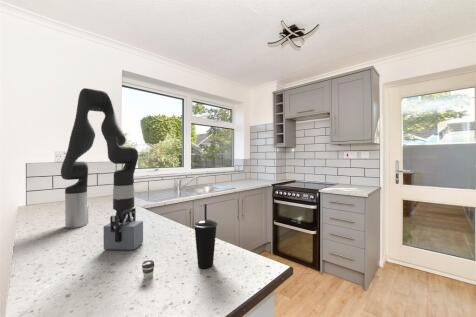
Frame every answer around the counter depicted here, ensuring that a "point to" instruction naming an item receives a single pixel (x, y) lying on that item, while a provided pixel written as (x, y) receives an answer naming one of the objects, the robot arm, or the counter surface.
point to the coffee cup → (148, 269)
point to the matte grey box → (124, 236)
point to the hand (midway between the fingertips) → (124, 238)
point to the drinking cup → (205, 241)
